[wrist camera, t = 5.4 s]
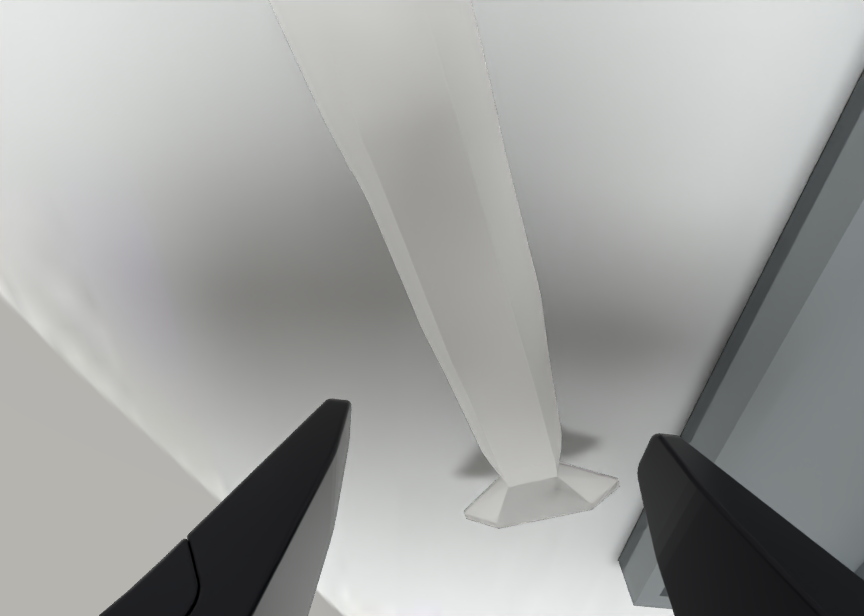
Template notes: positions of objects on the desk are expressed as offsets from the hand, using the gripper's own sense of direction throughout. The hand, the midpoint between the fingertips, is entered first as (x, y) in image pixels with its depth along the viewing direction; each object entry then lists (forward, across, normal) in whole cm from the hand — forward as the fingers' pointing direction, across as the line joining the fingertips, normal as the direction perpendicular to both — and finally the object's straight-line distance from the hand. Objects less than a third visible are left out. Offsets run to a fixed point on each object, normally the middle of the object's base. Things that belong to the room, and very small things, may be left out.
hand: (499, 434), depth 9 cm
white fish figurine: (+8, 0, 0) cm, 8 cm away
